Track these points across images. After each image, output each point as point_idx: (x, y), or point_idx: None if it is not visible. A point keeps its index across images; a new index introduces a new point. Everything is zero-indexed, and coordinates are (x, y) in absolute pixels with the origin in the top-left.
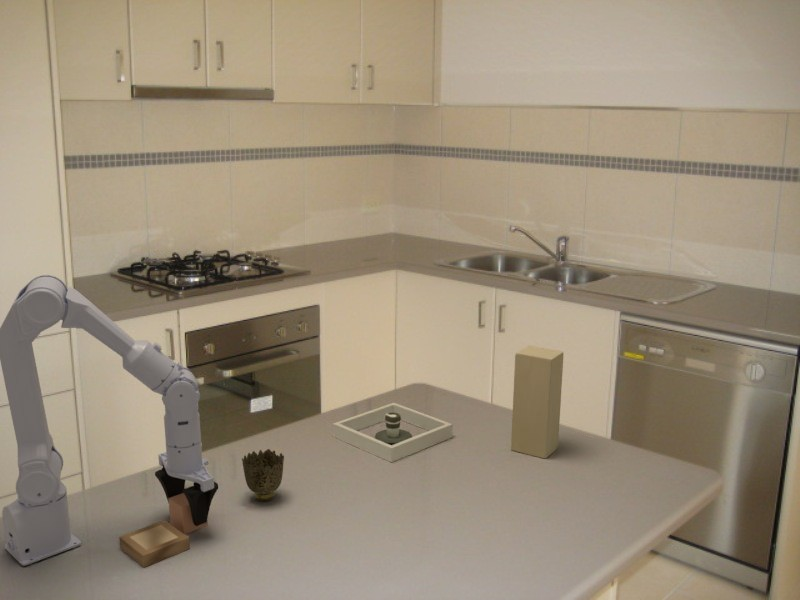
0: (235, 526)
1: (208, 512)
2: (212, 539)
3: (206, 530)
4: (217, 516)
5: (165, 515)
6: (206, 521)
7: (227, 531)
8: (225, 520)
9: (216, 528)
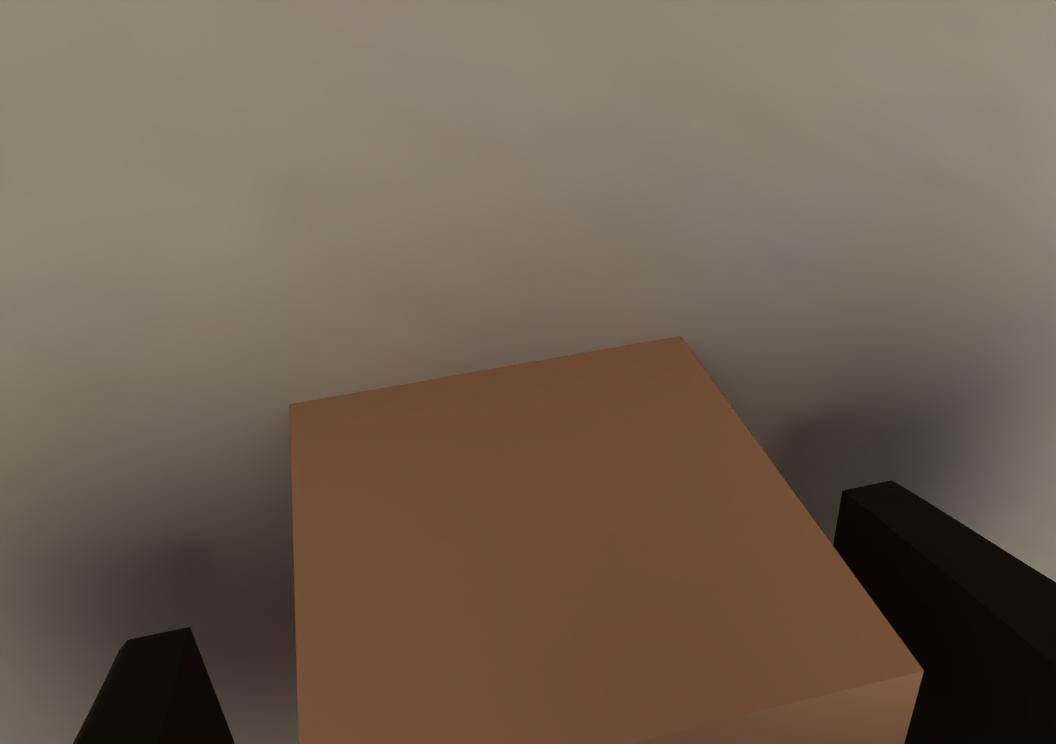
0: (1029, 19)
1: (1024, 565)
2: (1004, 403)
3: (788, 392)
4: (552, 109)
5: (55, 682)
6: (902, 490)
7: (1027, 185)
8: (764, 59)
9: (848, 273)
